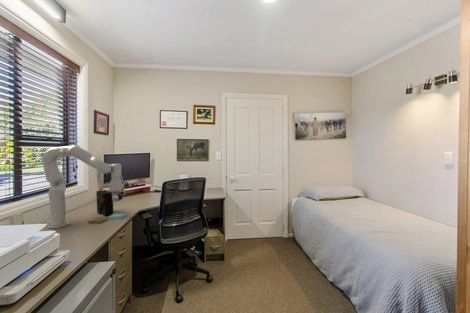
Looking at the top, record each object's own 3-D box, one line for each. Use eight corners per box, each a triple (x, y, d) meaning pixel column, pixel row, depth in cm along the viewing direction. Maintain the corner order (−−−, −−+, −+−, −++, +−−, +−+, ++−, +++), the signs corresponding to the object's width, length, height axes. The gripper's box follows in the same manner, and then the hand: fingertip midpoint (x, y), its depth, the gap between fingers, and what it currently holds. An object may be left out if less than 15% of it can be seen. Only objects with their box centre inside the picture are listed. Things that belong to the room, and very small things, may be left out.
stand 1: (87, 223, 182) (87, 220, 182) (96, 219, 192) (96, 216, 192) (100, 223, 181) (100, 220, 181) (107, 219, 191) (107, 217, 191)
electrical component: (115, 214, 205) (114, 192, 204) (102, 217, 197) (102, 194, 196) (108, 210, 217) (107, 189, 216) (96, 213, 209) (95, 191, 208)
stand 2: (108, 219, 192) (108, 216, 192) (115, 215, 202) (115, 213, 202) (120, 219, 192) (120, 216, 192) (126, 215, 202) (126, 213, 202)
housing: (116, 199, 200) (116, 191, 200) (122, 199, 200) (122, 191, 199) (112, 201, 193) (111, 192, 193) (117, 201, 193) (117, 192, 192)
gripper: (128, 177, 199) (129, 198, 200) (109, 177, 200) (110, 198, 201) (124, 178, 191) (124, 200, 192) (104, 178, 192) (104, 200, 193)
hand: (117, 199), depth 196 cm, fingers closed on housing, 5 cm apart
